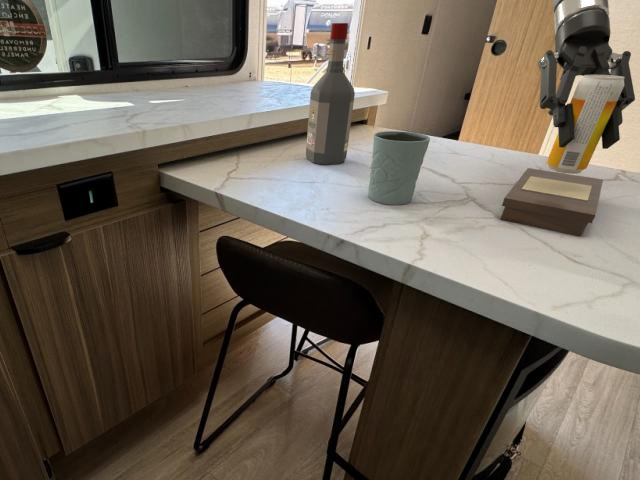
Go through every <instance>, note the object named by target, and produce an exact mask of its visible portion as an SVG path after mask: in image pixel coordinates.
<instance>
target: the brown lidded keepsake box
mask: <svg viewBox="0 0 640 480" xmlns="http://www.w3.org/2000/svg"><path fill="white" fill-rule="evenodd" d="M603 182H604V179H602V178H596V177H590V176H582V175H578V174H577V175H576V174H569V173H561V172H556V171H552V170H545V169H544V170H543V169H536V168H529V167H527V168H526V169H525V171H524V172H523V173H522V174H521V176H520V177H519V179H518V180H517V181H516V182H515V184H514V185H513V186H512V187H511V189H510V190H509V191H508V193H507V194H506V195H505V197H504V198H503V201H502V203H501V207H504V209H503V210H502V214H501V216H500V220H504V221H507V222H511V223H518V224H522V225H526V226H531V227H535V228H541V229H545V230H548V231H549V230H550V231H554V232H558V233H563V234H568V235H573V236H578V237H582V235H583V233H584V231H585V229H586V227H587V226H588V224H593V222H594V220H595V217H596V215H597V210H598V207H599V200H600V197H601V192H602V187H603Z"/></svg>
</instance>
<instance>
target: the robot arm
mask: <svg viewBox="0 0 640 480" xmlns="http://www.w3.org/2000/svg"><path fill="white" fill-rule="evenodd" d="M552 6H553V24H554V49H555V51H553V50H551V49H550V50H546V51H545V53H544V54H543V55H542V57H541V58H540V59H539V61H538V62H537V65H538V68H539V71H540V88H539V108H540V109H541V110H546V109H548V111H547V114H548V115H549V116H552V125H553V127H554V128H557V130H558V131H557V132H558V133H557V135H558V134H559V147H565V146H566V145H567V144H568V143H570V142H571V141H572V140H573V139H574V138H575V136H574V119H573V105H572V104H570V103H569V102H568V100H569V97H570V95H571V92H572V88H573V86H574V83H575V80H576V77H578V76H582V77H584V75H613V76H622V77H625V78H624V87H623V89H622V92H621V94H620V96H619V98H618V100H617V103H616V105H615V107H614V109H613V111H612V114H611V116H610V118H609V120H608V122H607V125H606V127H605V129H604V131H603V133H602V136H601V146H602V147H601V148H602V149H603V150H608V149H609V148H610V147H612V146H613V145H615V144H616V143H617V142H619V141H620V140H621V137H620V135H621V134H620V126H621V125H623V122H624V121H623V120H624V119H623V111H624V110H625V109H626V108H628V106H630V105H632V104H633V102H635V101H636V95H635V89H634V85H633V79H632V73H631V68H630V60H631V56H632V53H631V51H629V50H625V51H623V52H622V53H621V54H620V53H616V52H613V49H612V48H611V46H610V44H609V43H610V38H611V22H610V16H609V15H610V6H609V0H552ZM558 66H560V67H561V69H562V73H561V75H560V77H559V84H558V87H557V75H558V73H557V72H558V69H557V68H558ZM567 102H568V103H567Z"/></svg>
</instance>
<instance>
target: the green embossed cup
mask: <svg viewBox="0 0 640 480" xmlns="http://www.w3.org/2000/svg"><path fill="white" fill-rule="evenodd" d="M372 141H373V142H372V155H371V159H372V160H371V164H370V172H369V177H370V178H369V181H368V190H367V197H368V199H370V201H373V202H375V203H378V204H382V205H387V206H388V205H389V206H401V205H407V204H409V203H411V201H412V199H413V196H414V194H415V190H416V185H417V181H418V179H419V174H420V172H421V168H422V165H423V163H424V162H423V161H424V159H425V155H426V153H427V151H428V148H429V144H430V141H431V137H430V136H428V135H426V134H422V133H419V132H418V133H417V132H411V131H402V130H393V131H392V130H391V131H390V130H388V131H387V130H386V131H379V132H376V133H374V134H373V140H372Z"/></svg>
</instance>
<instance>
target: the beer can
mask: <svg viewBox="0 0 640 480" xmlns="http://www.w3.org/2000/svg"><path fill="white" fill-rule="evenodd" d="M624 78H625V77H622V76H613V75H584V76H582V78H581V80H580V81H579V82H578V83H577V85H576V88H575V90H574V92H573V95H572V97H571V100H570V104H572V105H573V119H574V136H575V138H574V139H573V140H572V141H571V142H570V143H568V144H567V145H566V146H565V147H559V134H558V133H557V134H556V137H555V140H554V142H553V145H552V147H551V150H550V152H549V154H548V158H547V160H546V162H545V163H546V165H547V168H548V170H549V171H552V172H557V173H564V174H570V175H576V174H577V175H578V174H581V173H582V172H583V171H584V170H586V169H587V168H588V166H589V164H590V163H591V160H592V157H593V155H594V153H595V151H596V148H597V146H598V145H599V142H600V141H601V139H602V133H603V131H604V129H605V127H606V125H607V122H608V120H609V118H610V116H611V114H612V111H613V109H614V107H615V105H616V103H617V100H618V98H619V96H620V94H621V92H622V89H623V87H624Z"/></svg>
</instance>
